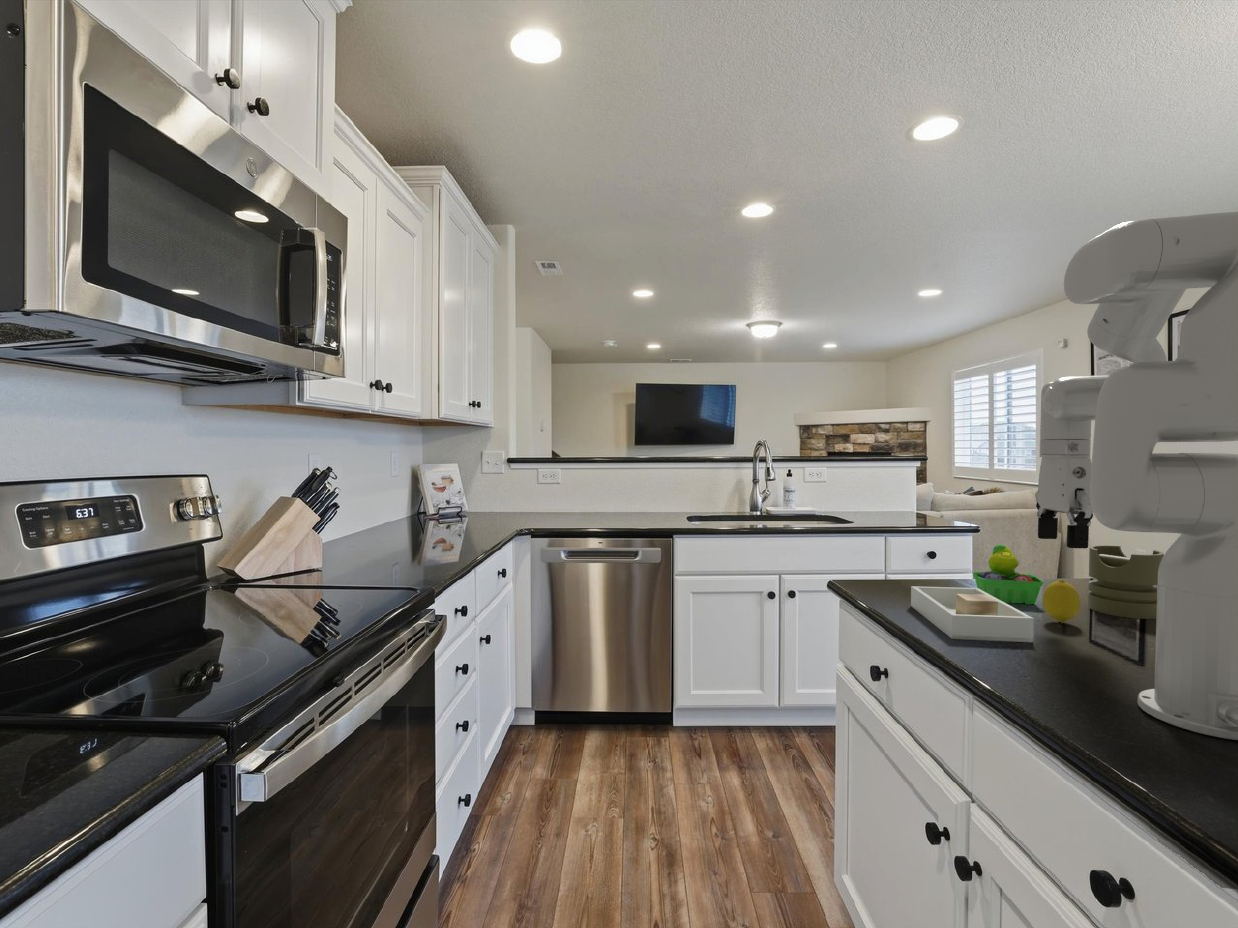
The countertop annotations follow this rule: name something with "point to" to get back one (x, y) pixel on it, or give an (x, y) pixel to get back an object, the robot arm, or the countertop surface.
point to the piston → (1123, 582)
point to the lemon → (1061, 601)
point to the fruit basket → (1007, 579)
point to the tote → (971, 616)
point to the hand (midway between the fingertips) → (1061, 543)
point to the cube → (976, 605)
